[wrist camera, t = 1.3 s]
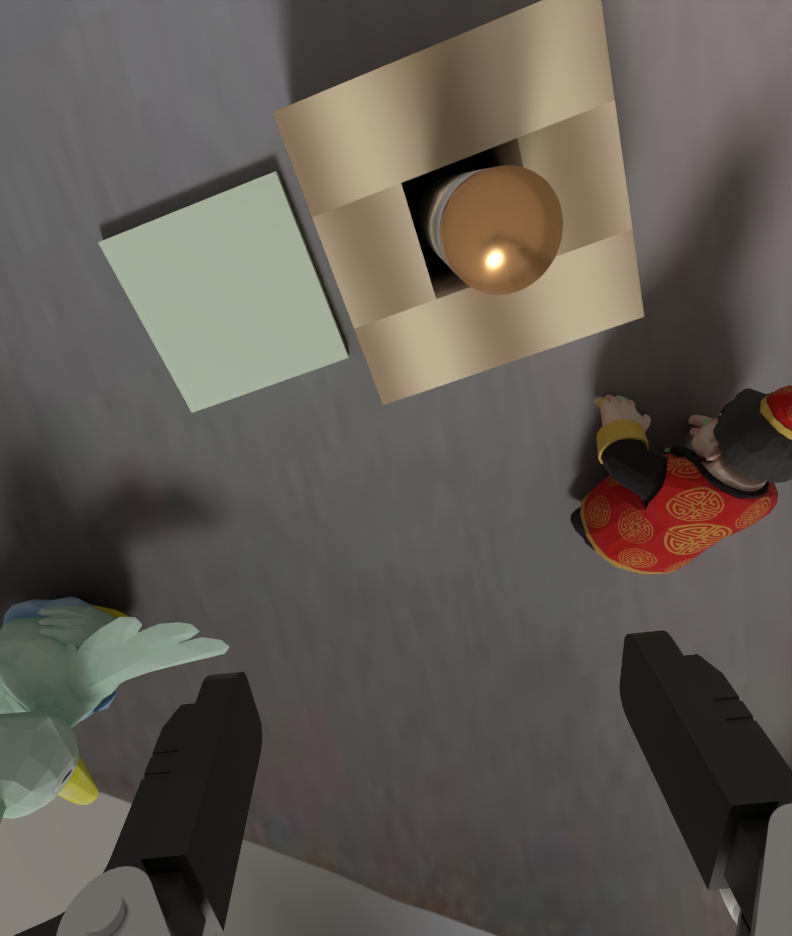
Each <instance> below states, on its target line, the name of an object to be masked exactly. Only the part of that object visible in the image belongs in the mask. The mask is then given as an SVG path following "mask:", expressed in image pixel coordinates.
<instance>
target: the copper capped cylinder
mask: <svg viewBox="0 0 792 936" xmlns="http://www.w3.org/2000/svg"><path fill="white" fill-rule="evenodd" d="M419 227H420V231H421V234H422V236H423V238H424V240H425V242H426V243H427V244H428V245H429V247H430V248H431V249H432V250H433V251H434V252H435V253H436V254H437V255H438V256H439V257H440V258H441V259H442V260H443V261H444V262H445V263H446V264H447V265H448V266H449V267H450V268H451V269H452V270H453V271H454V272H455V274H456V275H457V276H458V277H459V278H460V279H461V280H462V281H463V282H465V283H466V284H467V285H468V286H470V287H472V288H473V289H475V290H478V291H480V292H483V293H487V294H493V295H504V294H510V293H514V292H517V291H520V290H522V289H525V288H526V287H528V286H530V285H531V284H533V283H534V282H535V281H537V280H538V279H539V278H540V277H541V276H542V275H543V274H544V273H545V272H546V271H547V269H548V268H549V267H550V265H551V264H552V262H553V261H554V259H555V257H556V255H557V252H558V250H559V247H560V243H561V239H562V233H563V215H562V209H561V206H560V202H559V200H558V197H557V195H556V193H555V192H554V190H553V188H552V187H551V186H550V185H549V183H548V182H547V181H546V180H545V179H544V178H543V177H541V176H540V175H539V174H537V173H536V172H534V171H532V170H530V169H527V168H524V167H520V166H514V165H504V166H498V167H492V168H487V169H481V170H476V171H470V172H465V173H460V174H454V175H449V176H446V177H444V178H442V179H440V180H438V181H437V182H435V183H434V184H433V185H432V186H431V187H430V188H429V189H428V191H427V192H426V194H425V195H424V197H423V199H422V202H421V205H420V208H419Z"/></svg>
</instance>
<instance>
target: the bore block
mask: <svg viewBox="0 0 792 936" xmlns="http://www.w3.org/2000/svg"><path fill="white" fill-rule="evenodd" d="M273 115H274V118H275V120H276V123H277V126H278V128H279V131H280V133H281V136H282V139H283V141H284V144H285V147H286V149H287V152H288V155H289V157H290V160H291V163H292V165H293V168H294V171H295V173H296V176H297V178H298V181H299V184H300V186H301V189H302V192H303V194H304V197H305V200H306V202H307V205H308V208H309V210H310V213H311V216H312V218H313V221H314V223H315V226H316V229H317V231H318V234H319V237H320V239H321V242H322V245H323V247H324V250H325V253H326V255H327V258H328V260H329V263H330V266H331V268H332V271H333V274H334V276H335V279H336V282H337V284H338V287H339V290H340V292H341V295H342V298H343V300H344V303H345V305H346V308H347V311H348V313H349V316H350V319H351V321H352V324H353V327H354V329H355V332H356V335H357V337H358V340H359V343H360V345H361V348H362V350H363V353H364V356H365V358H366V361H367V364H368V366H369V369H370V372H371V374H372V377H373V380H374V382H375V385H376V387H377V390H378V393H379V395H380V398H381V401H382V403H383V405H385V404H388V403H391V402H394V401H397V400H400V399H403V398H406V397H409V396H412V395H415V394H418V393H421V392H424V391H427V390H430V389H433V388H435V387H438V386H441V385H444V384H447V383H450V382H453V381H456V380H459V379H462V378H465V377H468V376H471V375H474V374H477V373H480V372H483V371H486V370H489V369H492V368H495V367H497V366H500V365H503V364H506V363H509V362H512V361H515V360H518V359H521V358H524V357H527V356H530V355H533V354H536V353H539V352H542V351H545V350H548V349H551V348H554V347H557V346H560V345H562V344H565V343H568V342H571V341H574V340H577V339H580V338H583V337H586V336H589V335H592V334H595V333H598V332H601V331H604V330H607V329H610V328H613V327H616V326H619V325H622V324H624V323H627V322H630V321H633V320H636V319H639V318H642V317H644V310H643V303H642V296H641V288H640V281H639V274H638V266H637V259H636V252H635V244H634V237H633V230H632V222H631V215H630V208H629V200H628V193H627V186H626V178H625V171H624V164H623V157H622V149H621V142H620V135H619V127H618V120H617V113H616V105H615V98H614V91H613V83H612V76H611V69H610V61H609V54H608V47H607V39H606V32H605V25H604V17H603V10H602V3H601V0H542V1H539V2H537V3H535V4H532V5H530V6H527V7H525V8H522V9H520V10H518V11H515V12H513V13H510V14H508V15H506V16H503V17H501V18H498V19H496V20H494V21H491V22H489V23H486V24H484V25H482V26H479V27H477V28H474V29H472V30H470V31H467V32H465V33H462V34H460V35H457V36H455V37H453V38H450V39H448V40H445V41H443V42H441V43H438V44H436V45H433V46H431V47H429V48H426V49H424V50H421V51H419V52H417V53H414V54H412V55H409V56H407V57H405V58H402V59H400V60H397V61H395V62H392V63H390V64H388V65H385V66H383V67H380V68H378V69H376V70H373V71H371V72H368V73H366V74H364V75H361V76H359V77H356V78H354V79H352V80H349V81H347V82H344V83H342V84H340V85H337V86H335V87H332V88H330V89H327V90H325V91H323V92H320V93H318V94H315V95H313V96H311V97H308V98H306V99H303V100H301V101H299V102H296V103H294V104H291V105H289V106H287V107H284V108H282V109H279V110H277V111H275V112H273ZM487 149H490V150H491V154H492V159H493V163H494V167H498V166H504V165H514V166H520V167H524V168H527V169H530V170H532V171H534V172H536V173H537V174H539V175H540V176H541V177H543V178H544V179H545V180H546V181H547V182H548V183H549V185H550V186H551V187H552V188H553V190H554V192H555V193H556V195H557V197H558V200H559V202H560V206H561V209H562V215H563V233H562V239H561V243H560V247H559V250H558V252H557V255H556V257H555V259H554V261H553V262H552V264H551V265H550V267H549V268H548V269H547V271H546V272H545V273H544V274H543V275H542V276H541V277H540V278H539V279H538V280H537V281H535V282H534V283H533V284H531V285H530V286H528V287H526V288H525V289H522V290H520V291H517V292H514V293H510V294H504V295H493V294H487V293H483V292H480V291H478V290H475V289H473V288H472V287H470V286H468V285H467V284H466V283H465V282H463V281H462V280H461V279H460V278H459V277H458V276H457V275H456V274H455V272H454V271H453V270H452V271H450V272H447V273H444V274H441V275H439V276H436V277H433V278H430V277H429V274H428V270H427V267H426V264H425V260H424V257H423V254H422V251H421V247H420V244H419V241H418V237H417V234H416V231H415V227H414V224H413V221H412V218H411V214H410V211H409V208H408V204H407V201H406V198H405V194H404V191H403V188H402V185H401V183H402V182H405V181H407V180H410V179H413V178H415V177H418V176H420V175H423V174H426V173H428V172H431V171H433V170H436V169H438V168H441V167H444V166H446V165H449V164H451V163H454V162H456V161H459V160H462V159H464V158H467V157H469V156H472V155H475V154H477V153H480V152H482V151H485V150H487Z"/></svg>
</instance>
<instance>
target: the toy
mask: <svg viewBox="0 0 792 936" xmlns="http://www.w3.org/2000/svg"><path fill="white" fill-rule="evenodd" d="M141 626H142V624H141V623H140V622H139V621H138V620H137V619H136V618H135V617H129V616H128V615H126V614H124V613H122V612H119V611H117V610H115V609H110V608H105V607H100V606H95V605H90V604H88V603H86V602H84V601H82V600H80V599H78V598H75V597H66V598H61V599H55V600H39V599H32V600H28V601H25V602H21V603H18V604H15V605H12V606H11V608H10V609H9V610H8V611H7V613H6V614H5V616H4V621H3V627H2V628H1V630H0V822H1V820H2V817H5V818H12V819H13V818H18V817H22V816H26V815H28V814H30V813H32V812H34V811H35V810H37V809H39V808H41V807H42V806H44V805H46V804H47V803H49V802H50V801H51V800H53V799H54V798H55V797H56V796H57V795H58V796H61V797H62V798H64V799H66V800H68V801H70V802H72V803H74V804H83V805H87V804H90V803H92V802H93V801H94V800H95V799H96V798H97V797H98V789H97V788H96V786H95V784H94V782H93V780H92V778H91V776H90V774H89V772H88V770H87V769H86V767H85V765H84V763H83V761H82V759H81V757H80V755H79V752H78V745H77V738H76V733H75V732H74V730H73V729H72V727H73V726H74V725H76V724H77V723H78V722H80V721H81V720H84V719H86V718H87V717H88V716H90V715H91V714H92V713H94V712H96V711H100V710H103V709H106V708H108V707H109V705H110V704H111V702H112V701H113V699H114V698H115V696H116V693H115V689H116V688H117V687H118V686H119V684H120V683H122V682H124V681H126V680H128V679H131V678H134V677H136V676H139V675H142V674H145V673H148V672H151V671H155V670H159V669H163V668H167V667H171V666H175V665H179V664H183V663H187V662H191V661H196V660H200V659H205V658H209V657H213V656H217V655H221V654H225V652H226V651H227V650H228V648H229V646H228V645H227V644H225V643H224V642H223V641H222V640H217V639H210V638H204V637H202V638H196V639H191V640H187V639H189V638H191V637H192V636H194V635H195V634H197V633H198V632H200V631H199V630H197V629H196V628H195V627H194V626H193V625H192V624H186V623H165V624H158V625H155V626H151V627H148V628H145V629H142V630H139V629H140V628H141ZM184 640H186V641H184Z"/></svg>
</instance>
